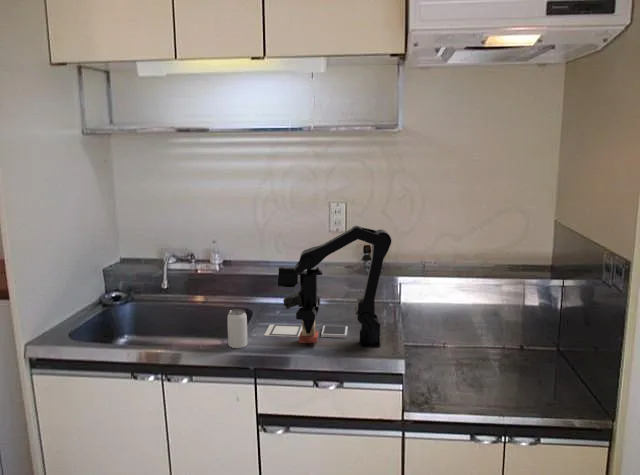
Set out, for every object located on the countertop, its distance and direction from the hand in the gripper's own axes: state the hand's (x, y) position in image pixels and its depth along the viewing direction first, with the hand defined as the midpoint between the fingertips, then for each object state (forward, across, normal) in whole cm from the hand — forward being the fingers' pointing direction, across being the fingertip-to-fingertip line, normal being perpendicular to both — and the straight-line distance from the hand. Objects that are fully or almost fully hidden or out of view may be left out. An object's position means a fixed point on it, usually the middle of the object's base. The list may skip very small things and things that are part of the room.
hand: (308, 331), depth 176 cm
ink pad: (+4, -11, +8) cm, 14 cm away
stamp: (+3, 0, 0) cm, 3 cm away
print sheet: (+4, -11, -10) cm, 15 cm away
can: (+5, +4, -24) cm, 25 cm away
